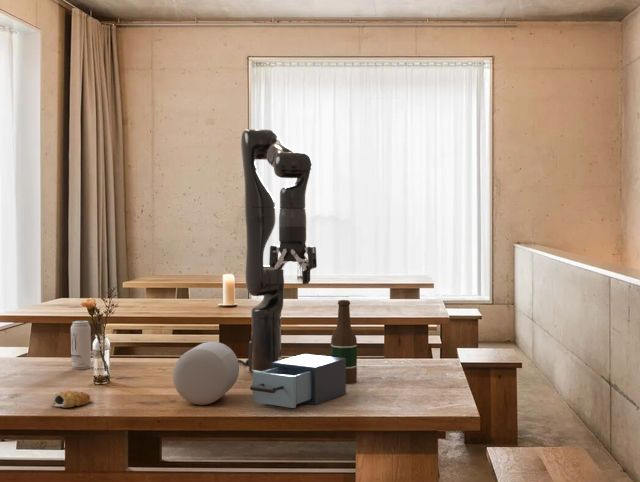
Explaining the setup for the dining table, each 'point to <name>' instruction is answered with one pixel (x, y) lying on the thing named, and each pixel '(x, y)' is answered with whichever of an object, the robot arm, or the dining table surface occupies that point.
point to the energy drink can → (80, 345)
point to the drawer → (282, 386)
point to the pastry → (70, 399)
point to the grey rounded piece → (205, 373)
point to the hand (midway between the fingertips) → (292, 283)
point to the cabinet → (320, 374)
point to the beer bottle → (345, 341)
